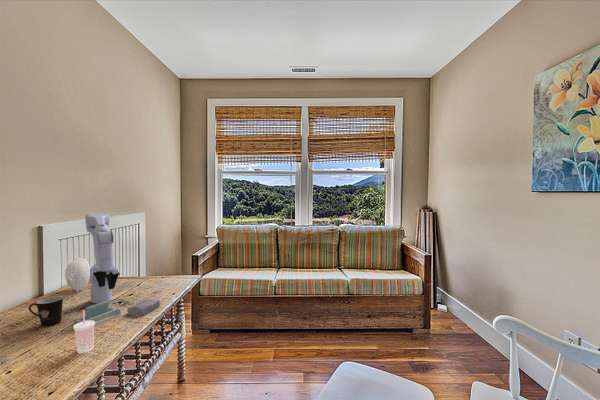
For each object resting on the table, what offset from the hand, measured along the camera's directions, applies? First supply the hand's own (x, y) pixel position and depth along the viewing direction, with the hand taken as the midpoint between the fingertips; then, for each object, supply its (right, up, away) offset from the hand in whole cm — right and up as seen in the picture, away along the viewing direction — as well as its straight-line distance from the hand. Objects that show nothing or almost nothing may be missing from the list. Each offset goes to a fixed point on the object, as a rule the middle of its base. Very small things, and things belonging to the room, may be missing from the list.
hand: (106, 287), depth 141 cm
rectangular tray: (+3, -11, -10) cm, 15 cm away
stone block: (+17, -11, 0) cm, 20 cm away
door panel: (+3, -10, -10) cm, 15 cm away
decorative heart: (-33, -10, +28) cm, 44 cm away
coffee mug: (-17, -12, -12) cm, 24 cm away
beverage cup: (+14, -12, -34) cm, 38 cm away
